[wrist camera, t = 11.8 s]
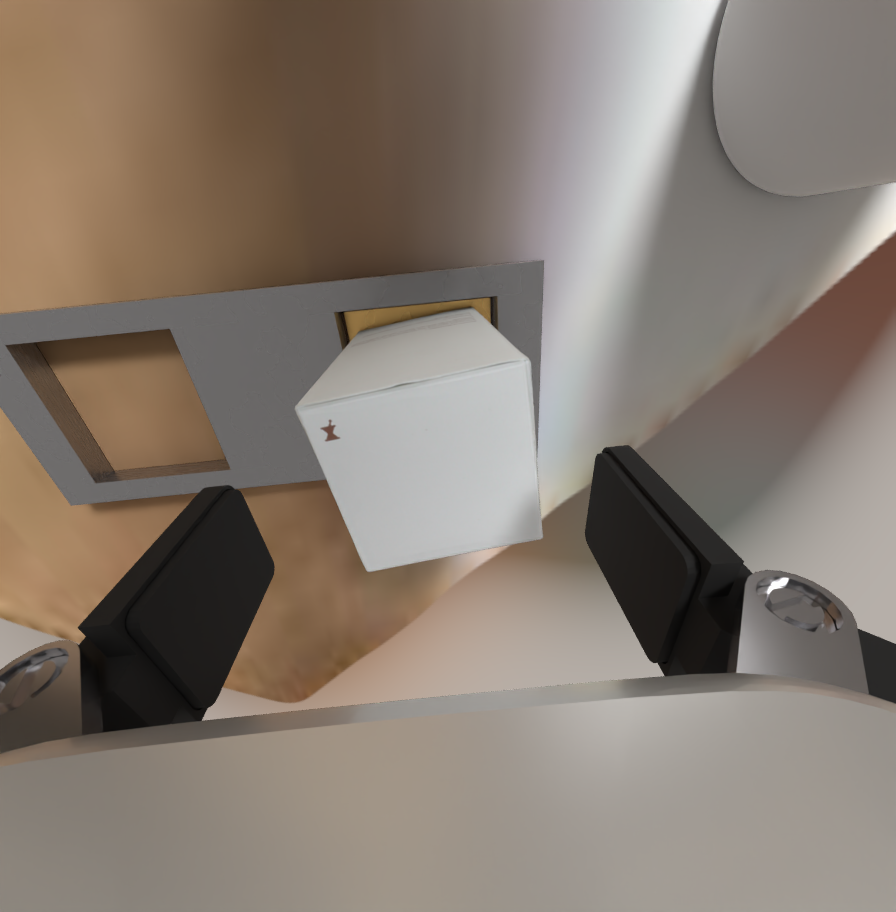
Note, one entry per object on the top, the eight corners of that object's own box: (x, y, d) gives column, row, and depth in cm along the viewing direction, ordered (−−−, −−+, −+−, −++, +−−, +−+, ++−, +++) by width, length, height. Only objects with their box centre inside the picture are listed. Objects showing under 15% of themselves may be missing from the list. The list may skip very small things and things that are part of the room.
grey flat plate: (-29, 316, 21) (-62, 320, 19) (536, 260, 21) (543, 260, 19) (89, 492, 26) (71, 505, 25) (531, 447, 26) (537, 458, 25)
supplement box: (388, 438, 25) (359, 578, 14) (356, 328, 22) (283, 402, 11) (493, 418, 25) (547, 545, 14) (478, 303, 22) (532, 352, 10)
